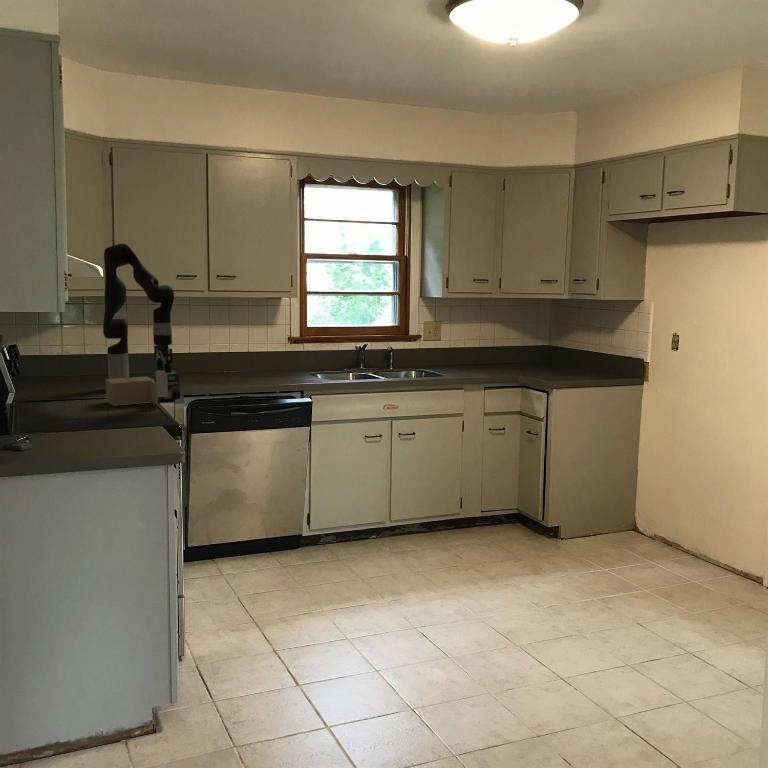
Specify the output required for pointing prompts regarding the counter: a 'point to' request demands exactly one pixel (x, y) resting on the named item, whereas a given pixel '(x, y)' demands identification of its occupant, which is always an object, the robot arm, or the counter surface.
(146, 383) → the carton
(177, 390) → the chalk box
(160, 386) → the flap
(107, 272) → the robot arm
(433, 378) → the counter surface
